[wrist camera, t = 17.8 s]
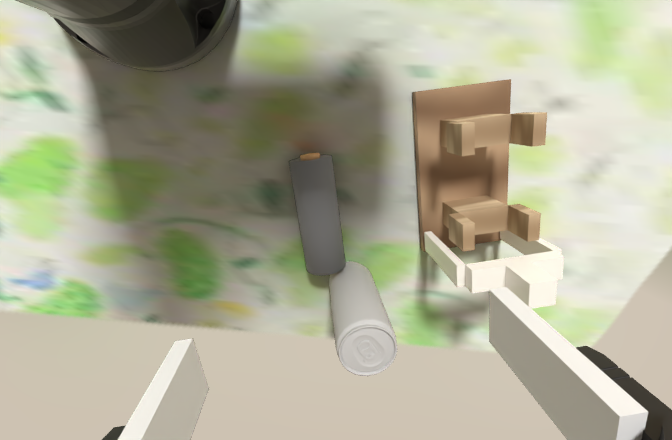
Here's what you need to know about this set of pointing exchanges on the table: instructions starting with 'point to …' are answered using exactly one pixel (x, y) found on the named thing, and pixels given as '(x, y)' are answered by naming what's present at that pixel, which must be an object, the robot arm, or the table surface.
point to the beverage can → (360, 322)
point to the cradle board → (471, 163)
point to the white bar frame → (506, 269)
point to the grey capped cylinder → (318, 213)
